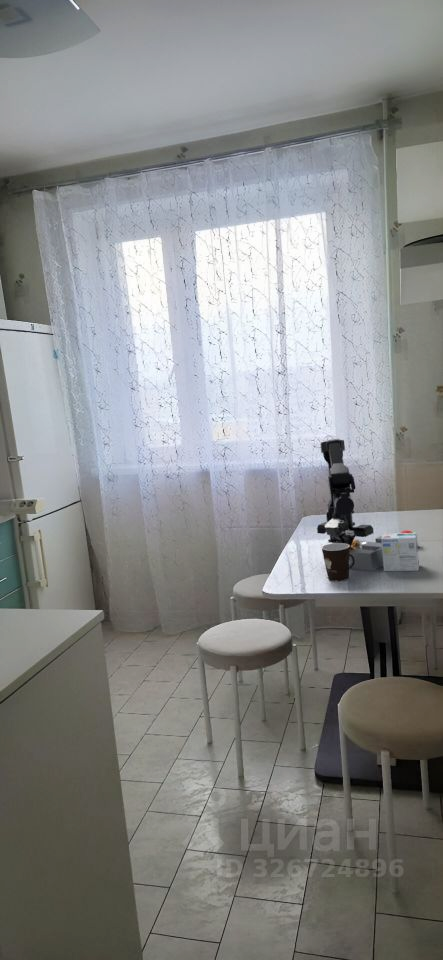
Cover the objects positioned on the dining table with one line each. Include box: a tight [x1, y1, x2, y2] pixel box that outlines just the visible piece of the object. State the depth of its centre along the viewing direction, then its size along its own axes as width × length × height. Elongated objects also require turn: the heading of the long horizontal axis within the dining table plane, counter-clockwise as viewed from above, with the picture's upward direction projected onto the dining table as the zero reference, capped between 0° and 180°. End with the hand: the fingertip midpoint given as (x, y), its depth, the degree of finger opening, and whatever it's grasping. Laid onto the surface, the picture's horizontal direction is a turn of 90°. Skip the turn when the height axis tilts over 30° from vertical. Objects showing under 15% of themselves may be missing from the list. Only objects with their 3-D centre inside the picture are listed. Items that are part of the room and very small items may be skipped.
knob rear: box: [351, 539, 369, 549], centre depth 219 cm, size 9×4×4 cm, turn 47°
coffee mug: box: [321, 542, 355, 582], centre depth 196 cm, size 12×9×10 cm
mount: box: [349, 535, 383, 572], centre depth 211 cm, size 8×21×6 cm, turn 137°
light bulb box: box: [381, 532, 420, 572], centre depth 200 cm, size 11×7×11 cm, turn 71°
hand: (346, 554), depth 214 cm, fingers closed
